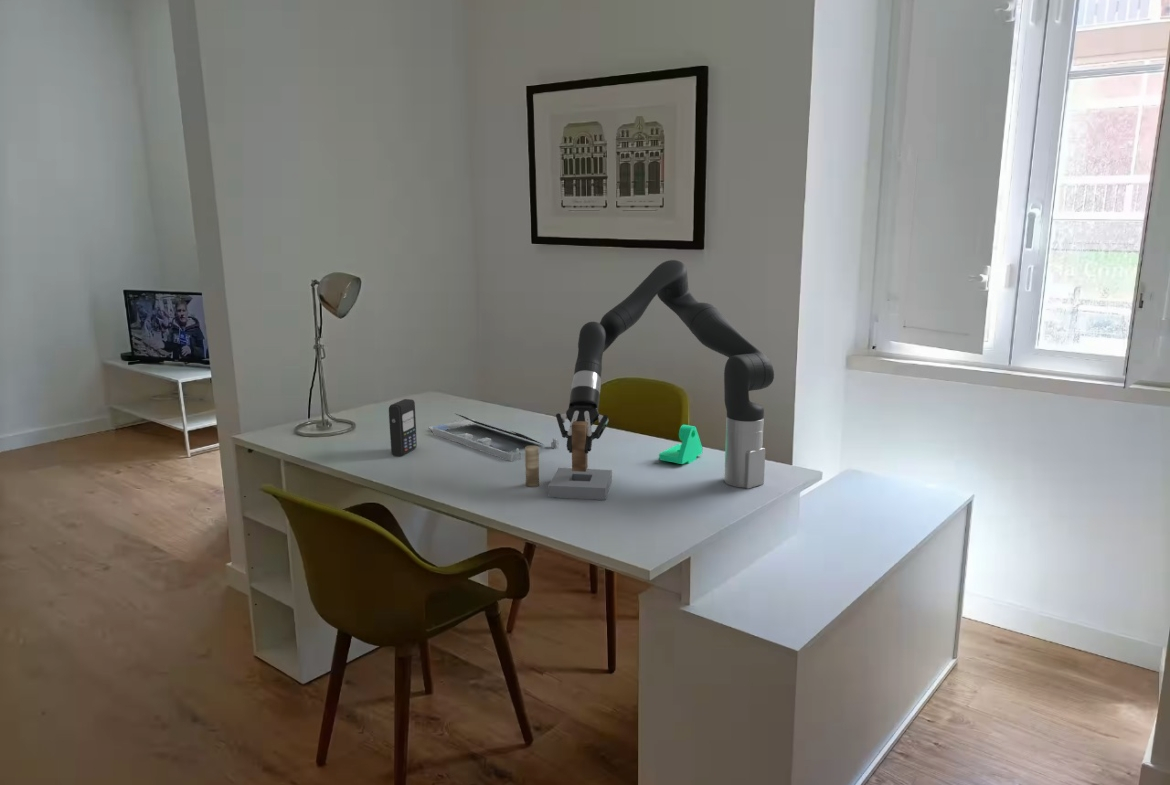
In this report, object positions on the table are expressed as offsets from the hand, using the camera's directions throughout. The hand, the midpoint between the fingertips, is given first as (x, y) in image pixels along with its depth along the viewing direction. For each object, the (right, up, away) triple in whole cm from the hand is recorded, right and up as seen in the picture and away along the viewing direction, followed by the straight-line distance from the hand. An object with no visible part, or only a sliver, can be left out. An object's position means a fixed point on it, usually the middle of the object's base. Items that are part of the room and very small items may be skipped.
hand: (578, 451), depth 205 cm
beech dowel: (-12, -9, +7) cm, 16 cm away
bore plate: (+1, -10, +4) cm, 10 cm away
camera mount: (+28, -4, +27) cm, 40 cm away
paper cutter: (-28, 0, +48) cm, 55 cm away
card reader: (-50, -3, +35) cm, 61 cm away
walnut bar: (0, -5, +3) cm, 6 cm away
